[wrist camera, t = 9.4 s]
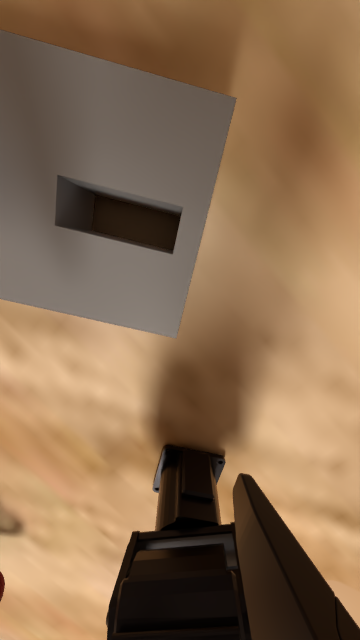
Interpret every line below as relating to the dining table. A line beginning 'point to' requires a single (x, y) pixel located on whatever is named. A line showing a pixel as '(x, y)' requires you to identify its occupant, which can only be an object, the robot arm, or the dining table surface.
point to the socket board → (101, 182)
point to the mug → (1, 585)
